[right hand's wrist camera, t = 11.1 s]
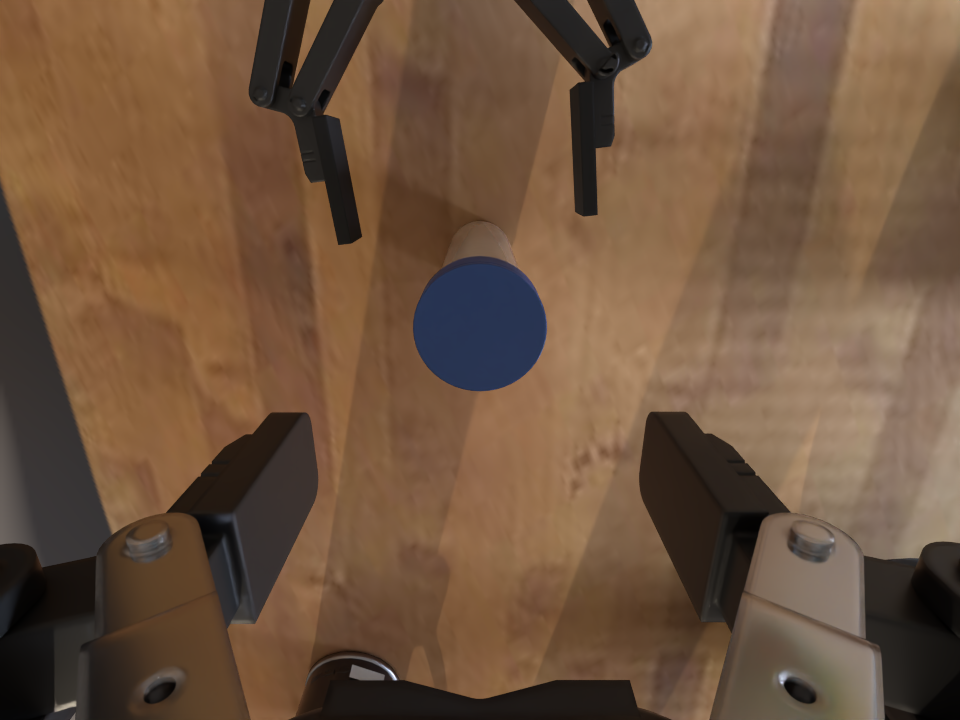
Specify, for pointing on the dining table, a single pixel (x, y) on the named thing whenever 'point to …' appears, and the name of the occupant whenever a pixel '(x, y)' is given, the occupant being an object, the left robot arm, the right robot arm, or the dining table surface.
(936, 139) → the dining table surface
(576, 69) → the left robot arm
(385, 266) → the dining table surface
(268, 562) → the right robot arm
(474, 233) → the beige cylindrical rod
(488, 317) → the lid
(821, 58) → the dining table surface
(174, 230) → the dining table surface
